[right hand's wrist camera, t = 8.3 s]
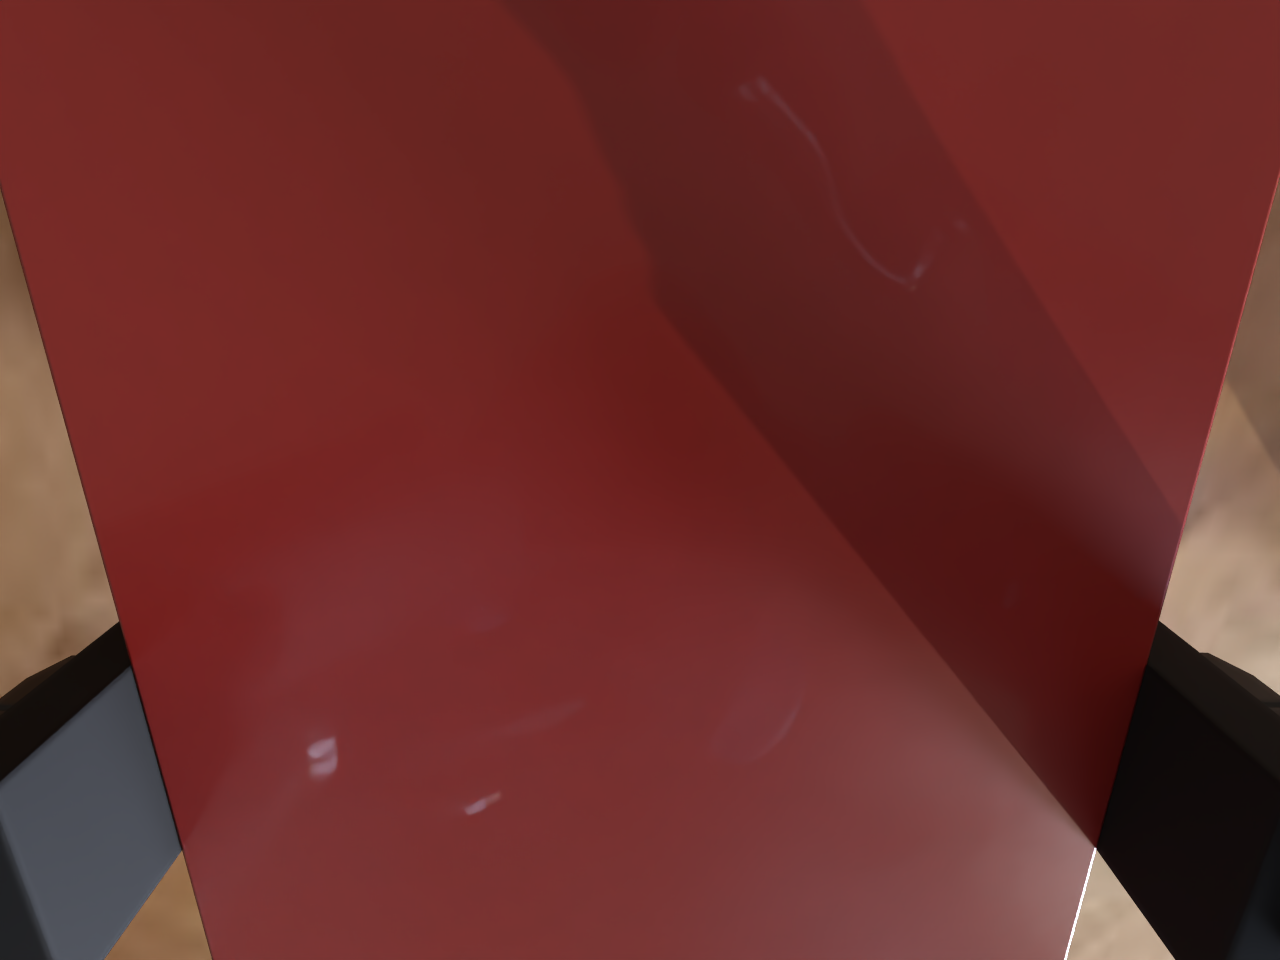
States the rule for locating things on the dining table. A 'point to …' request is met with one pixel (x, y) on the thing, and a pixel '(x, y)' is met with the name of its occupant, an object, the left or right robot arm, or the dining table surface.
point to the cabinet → (639, 445)
